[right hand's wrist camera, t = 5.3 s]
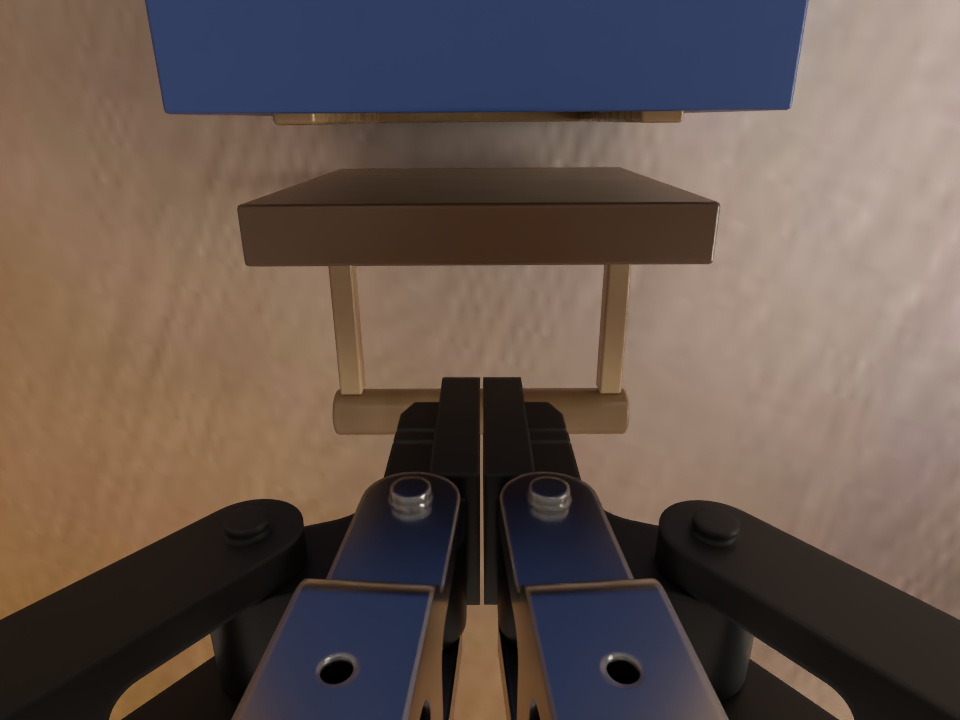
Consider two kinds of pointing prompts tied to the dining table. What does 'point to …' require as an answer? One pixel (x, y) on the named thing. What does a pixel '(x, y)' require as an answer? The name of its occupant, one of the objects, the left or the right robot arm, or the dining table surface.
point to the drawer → (479, 246)
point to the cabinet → (475, 55)
